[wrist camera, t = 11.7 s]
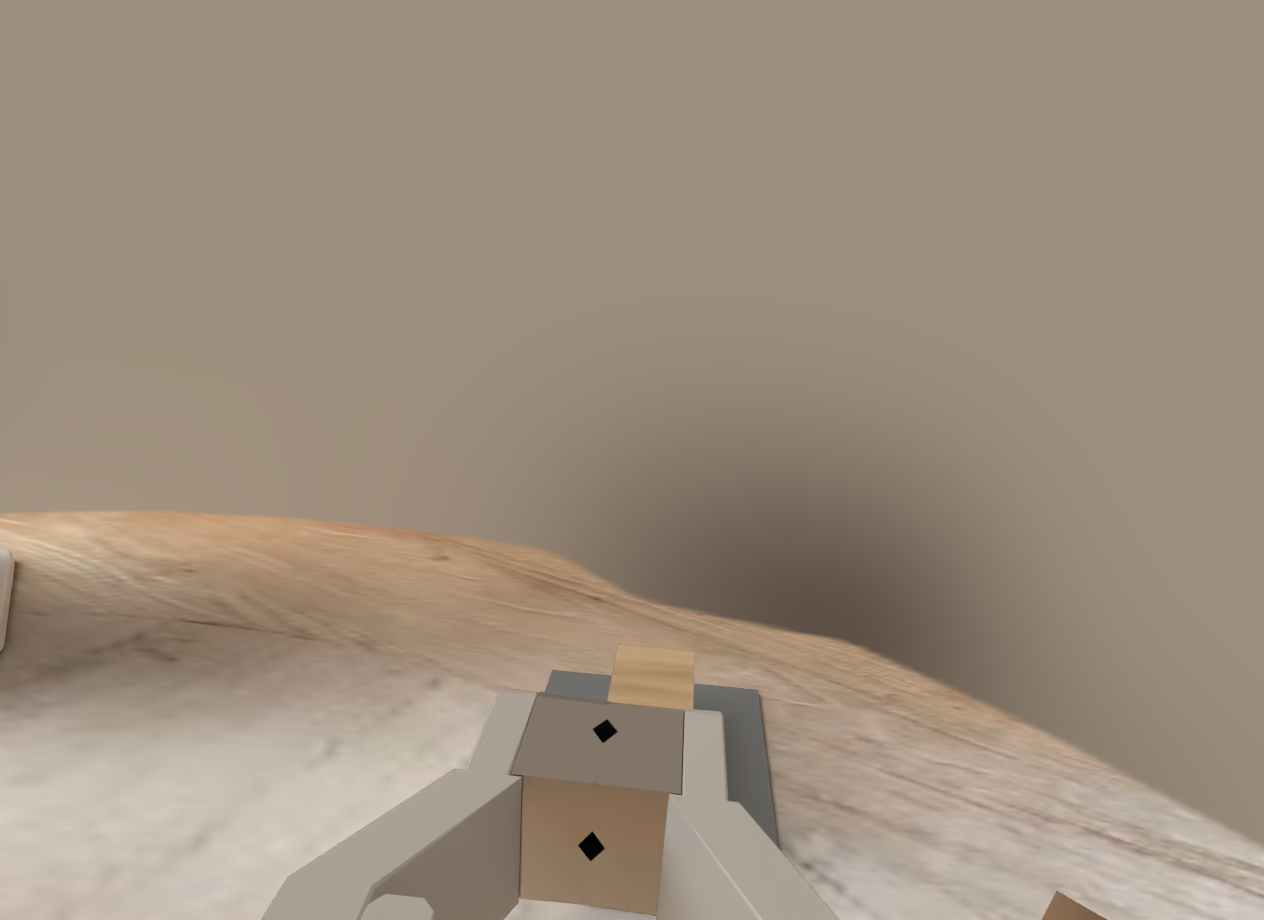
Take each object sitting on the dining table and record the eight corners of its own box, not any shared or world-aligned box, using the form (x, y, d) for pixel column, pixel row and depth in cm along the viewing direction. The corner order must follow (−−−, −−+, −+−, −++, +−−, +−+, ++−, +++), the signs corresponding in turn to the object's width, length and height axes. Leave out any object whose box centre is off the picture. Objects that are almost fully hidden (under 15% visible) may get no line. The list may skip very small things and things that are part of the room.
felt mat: (784, 905, 29) (785, 899, 29) (487, 870, 30) (487, 864, 30) (757, 694, 42) (758, 689, 42) (552, 674, 43) (552, 670, 43)
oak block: (691, 827, 27) (693, 651, 39) (584, 816, 27) (618, 644, 39) (683, 911, 28) (688, 716, 40) (581, 899, 29) (614, 708, 40)
